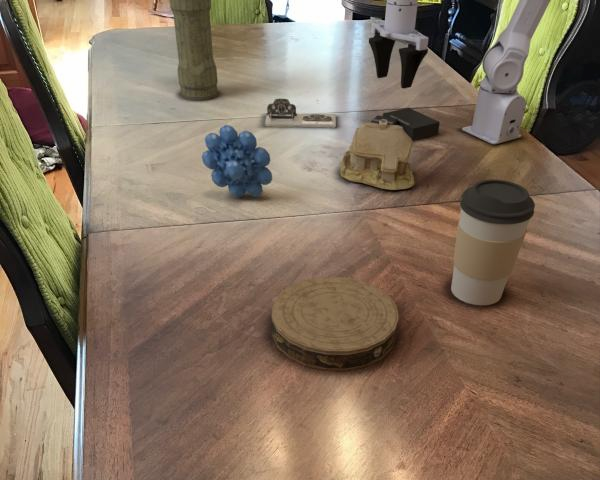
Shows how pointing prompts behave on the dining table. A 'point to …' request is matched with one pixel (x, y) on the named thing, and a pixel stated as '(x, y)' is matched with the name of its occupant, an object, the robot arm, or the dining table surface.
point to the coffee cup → (489, 239)
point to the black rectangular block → (389, 120)
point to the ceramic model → (379, 157)
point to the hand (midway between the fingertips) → (393, 82)
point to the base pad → (414, 123)
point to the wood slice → (334, 323)
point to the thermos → (194, 49)
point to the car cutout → (295, 116)
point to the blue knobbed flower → (237, 162)
